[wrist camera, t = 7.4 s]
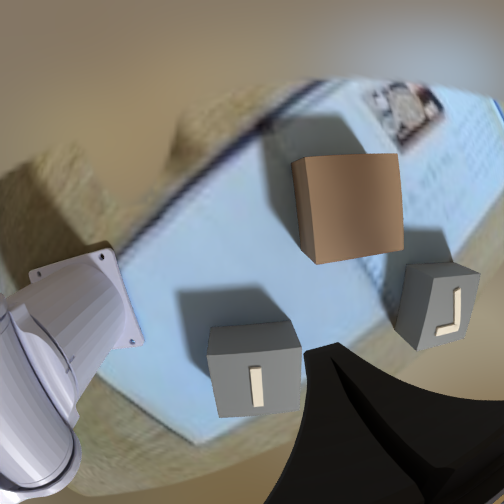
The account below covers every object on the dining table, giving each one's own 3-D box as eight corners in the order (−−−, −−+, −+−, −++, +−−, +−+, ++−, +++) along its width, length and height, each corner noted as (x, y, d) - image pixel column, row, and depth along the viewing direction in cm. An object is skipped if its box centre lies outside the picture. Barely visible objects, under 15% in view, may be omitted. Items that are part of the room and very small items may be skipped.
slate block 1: (220, 385, 22) (218, 419, 17) (210, 326, 20) (206, 357, 16) (290, 379, 22) (299, 412, 18) (290, 319, 20) (302, 348, 16)
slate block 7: (393, 328, 21) (417, 352, 17) (405, 263, 20) (435, 279, 16) (440, 320, 22) (465, 339, 18) (452, 261, 20) (482, 274, 16)
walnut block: (300, 249, 19) (316, 264, 15) (290, 163, 18) (304, 156, 14) (375, 238, 19) (403, 249, 16) (368, 158, 18) (397, 153, 14)
